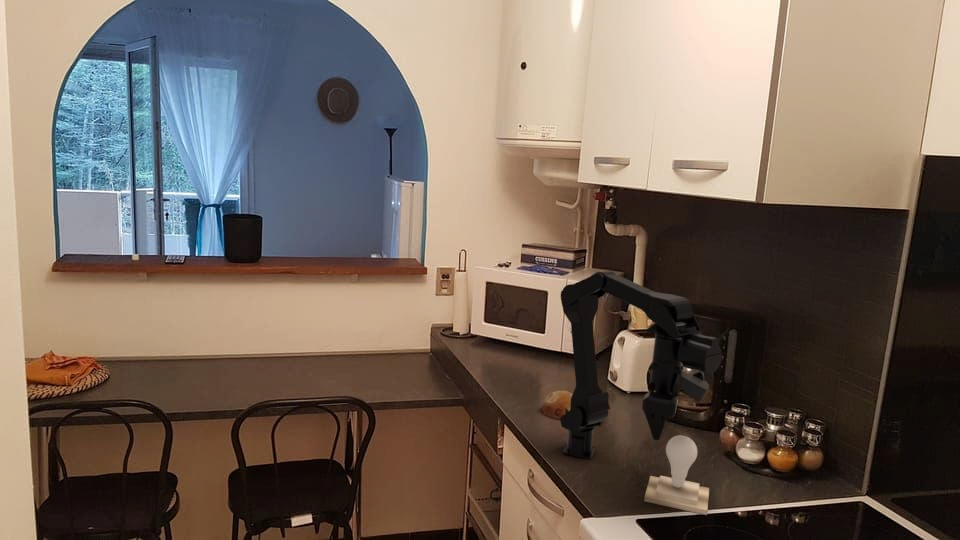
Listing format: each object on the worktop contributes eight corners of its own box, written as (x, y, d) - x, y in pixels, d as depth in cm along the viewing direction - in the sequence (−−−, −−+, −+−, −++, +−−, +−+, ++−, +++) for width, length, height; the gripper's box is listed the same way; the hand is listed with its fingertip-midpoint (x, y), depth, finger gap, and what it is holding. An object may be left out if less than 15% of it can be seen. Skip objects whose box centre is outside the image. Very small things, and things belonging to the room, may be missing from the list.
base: (650, 480, 145) (650, 471, 144) (708, 492, 141) (709, 483, 140) (644, 501, 135) (645, 491, 135) (706, 515, 131) (707, 505, 131)
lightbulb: (687, 480, 141) (692, 431, 139) (697, 495, 135) (703, 443, 133) (658, 479, 141) (663, 429, 139) (667, 494, 135) (673, 442, 133)
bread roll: (571, 421, 185) (568, 391, 187) (589, 418, 176) (585, 387, 178) (538, 423, 182) (535, 393, 184) (554, 421, 173) (550, 389, 175)
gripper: (707, 379, 125) (697, 458, 127) (710, 353, 142) (701, 423, 145) (646, 369, 128) (637, 445, 131) (656, 344, 146) (648, 413, 148)
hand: (658, 431), depth 139 cm, fingers open, 9 cm apart
